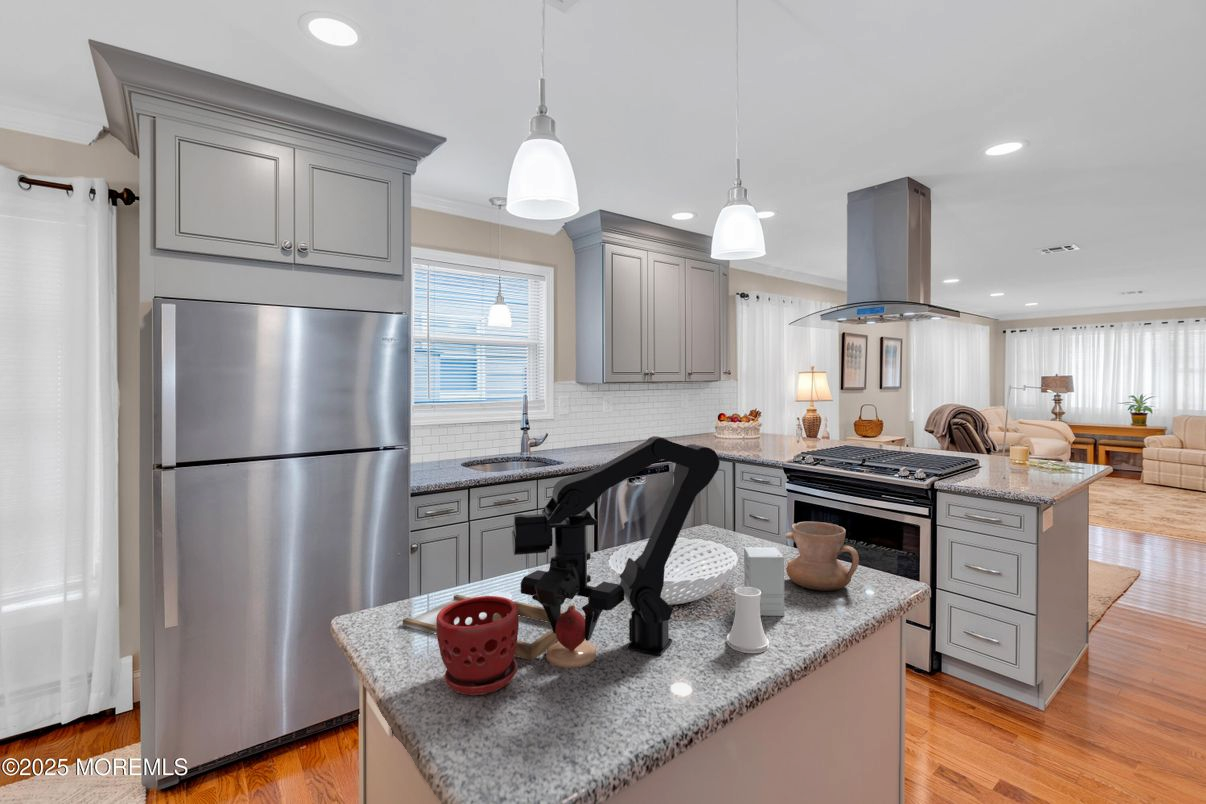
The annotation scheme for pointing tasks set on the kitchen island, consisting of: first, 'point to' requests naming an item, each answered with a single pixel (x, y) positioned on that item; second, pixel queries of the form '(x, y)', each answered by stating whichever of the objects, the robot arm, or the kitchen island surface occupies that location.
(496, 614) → the wooden double frame
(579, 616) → the onion
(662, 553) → the robot arm
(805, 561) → the ceramic jug
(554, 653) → the saucer
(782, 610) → the supplement box
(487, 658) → the plant pot
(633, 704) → the kitchen island surface
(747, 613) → the vase
